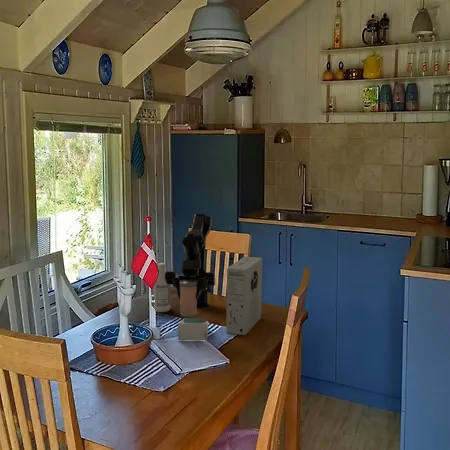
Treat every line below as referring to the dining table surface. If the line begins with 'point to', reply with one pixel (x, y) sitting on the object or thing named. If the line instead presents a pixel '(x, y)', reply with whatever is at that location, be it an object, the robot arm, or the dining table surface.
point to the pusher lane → (192, 331)
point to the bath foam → (161, 291)
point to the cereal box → (244, 295)
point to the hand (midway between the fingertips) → (187, 298)
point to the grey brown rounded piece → (188, 298)
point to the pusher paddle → (193, 320)
